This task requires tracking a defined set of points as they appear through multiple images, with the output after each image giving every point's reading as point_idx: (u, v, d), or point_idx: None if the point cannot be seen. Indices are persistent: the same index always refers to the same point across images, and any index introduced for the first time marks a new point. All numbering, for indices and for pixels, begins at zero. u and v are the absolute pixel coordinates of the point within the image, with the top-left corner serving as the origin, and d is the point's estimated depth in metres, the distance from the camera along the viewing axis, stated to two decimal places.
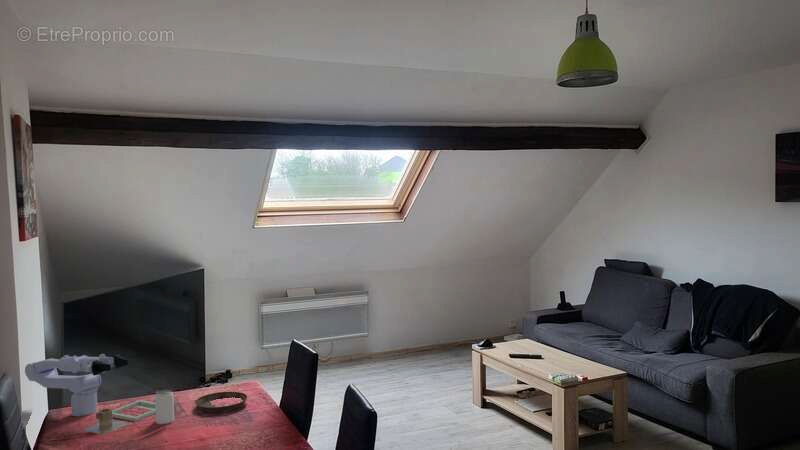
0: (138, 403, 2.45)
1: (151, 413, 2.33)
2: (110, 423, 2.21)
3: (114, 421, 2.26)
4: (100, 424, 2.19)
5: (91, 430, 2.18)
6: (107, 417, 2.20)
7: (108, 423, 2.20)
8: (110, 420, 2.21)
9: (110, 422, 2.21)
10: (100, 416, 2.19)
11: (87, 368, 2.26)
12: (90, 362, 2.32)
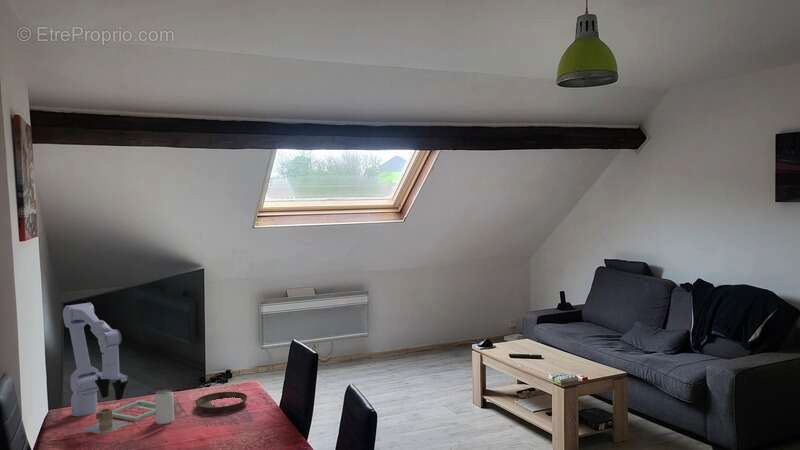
0: (138, 403, 2.45)
1: (151, 413, 2.33)
2: (110, 423, 2.21)
3: (114, 421, 2.26)
4: (100, 424, 2.19)
5: (91, 430, 2.18)
6: (107, 417, 2.20)
7: (108, 423, 2.20)
8: (110, 420, 2.21)
9: (110, 422, 2.21)
10: (100, 416, 2.19)
11: None
12: None
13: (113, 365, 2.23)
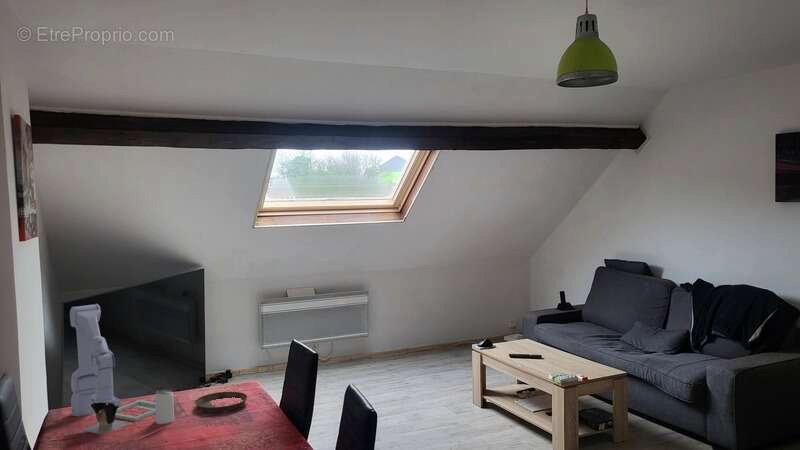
0: (138, 403, 2.45)
1: (151, 413, 2.33)
2: None
3: (114, 421, 2.26)
4: (100, 424, 2.19)
5: (91, 430, 2.18)
6: None
7: None
8: None
9: None
10: (100, 416, 2.19)
11: None
12: None
13: (107, 389, 2.19)
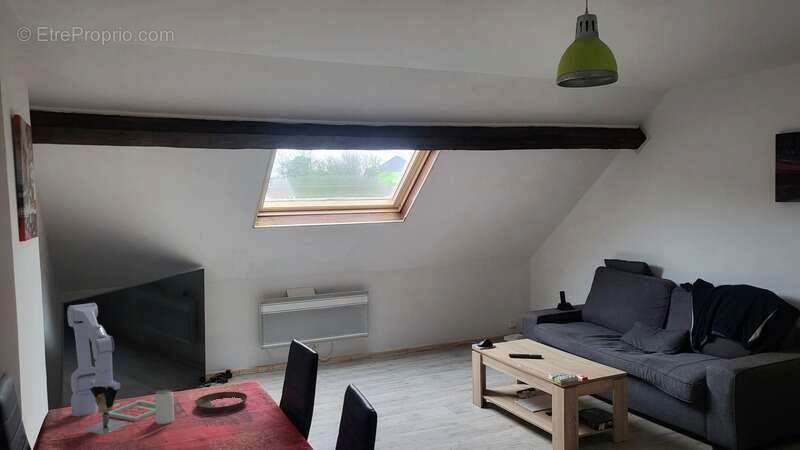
0: (138, 403, 2.45)
1: (151, 413, 2.33)
2: None
3: (114, 421, 2.26)
4: (100, 408, 2.19)
5: (91, 430, 2.18)
6: None
7: None
8: None
9: None
10: (99, 400, 2.19)
11: None
12: None
13: (106, 372, 2.19)
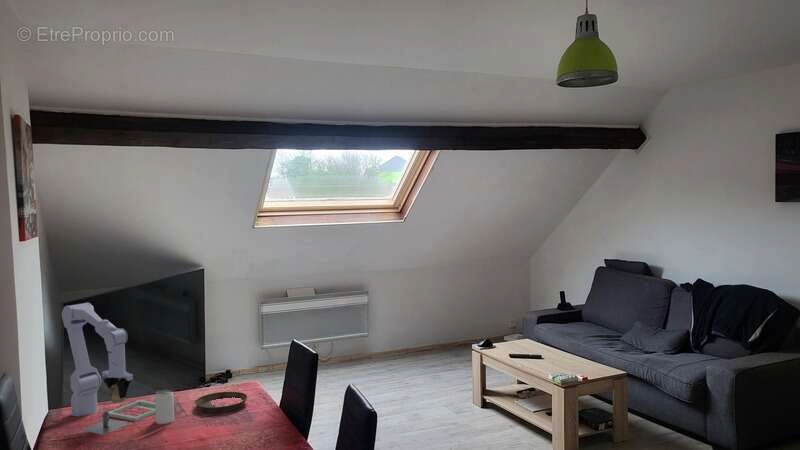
0: (138, 403, 2.45)
1: (151, 413, 2.33)
2: (122, 398, 2.26)
3: (114, 421, 2.26)
4: (113, 398, 2.25)
5: (91, 430, 2.18)
6: None
7: None
8: None
9: None
10: (113, 391, 2.25)
11: None
12: None
13: (119, 364, 2.25)
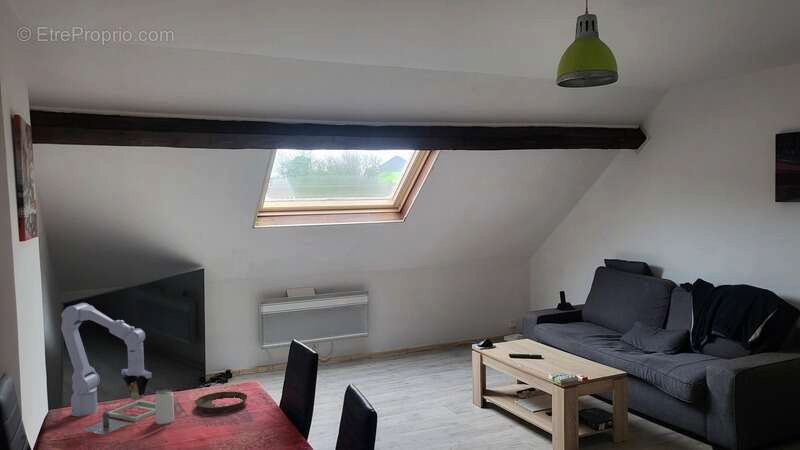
0: (138, 403, 2.45)
1: (151, 413, 2.33)
2: (141, 395, 2.36)
3: (114, 421, 2.26)
4: (132, 395, 2.34)
5: (91, 430, 2.18)
6: None
7: (139, 395, 2.35)
8: None
9: None
10: (132, 388, 2.34)
11: None
12: None
13: (138, 362, 2.34)
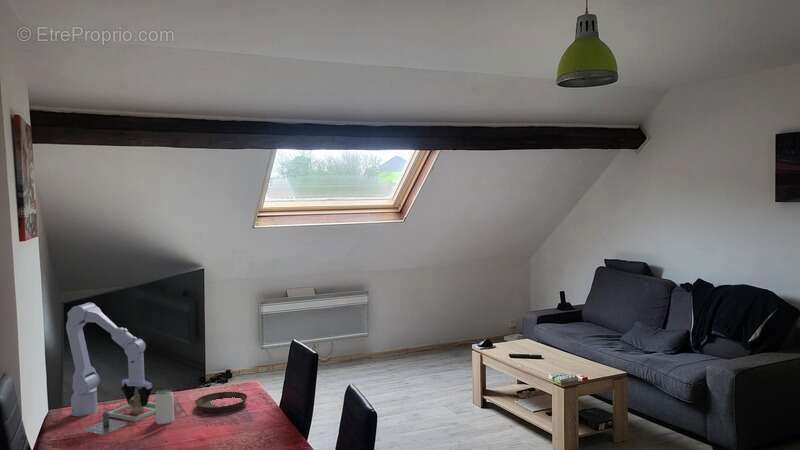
0: None
1: (151, 413, 2.33)
2: (142, 409, 2.36)
3: (114, 421, 2.26)
4: (133, 410, 2.35)
5: (91, 430, 2.18)
6: (139, 403, 2.35)
7: (140, 409, 2.35)
8: None
9: (142, 408, 2.36)
10: (132, 402, 2.34)
11: None
12: None
13: (139, 373, 2.34)
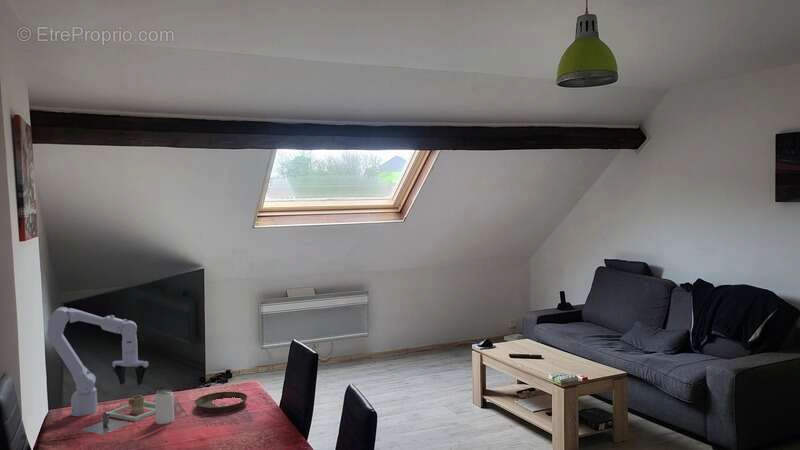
0: None
1: (151, 413, 2.33)
2: (142, 409, 2.36)
3: (114, 421, 2.26)
4: (133, 410, 2.35)
5: (91, 430, 2.18)
6: (139, 403, 2.35)
7: (140, 409, 2.35)
8: (142, 406, 2.36)
9: (142, 408, 2.36)
10: (132, 402, 2.34)
11: None
12: (122, 354, 2.42)
13: (134, 353, 2.42)
